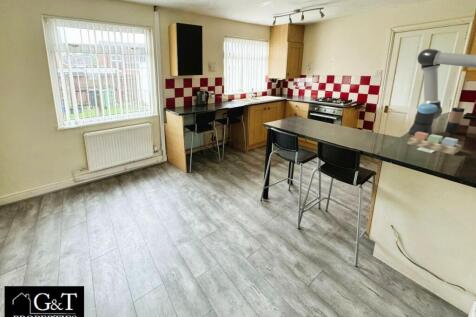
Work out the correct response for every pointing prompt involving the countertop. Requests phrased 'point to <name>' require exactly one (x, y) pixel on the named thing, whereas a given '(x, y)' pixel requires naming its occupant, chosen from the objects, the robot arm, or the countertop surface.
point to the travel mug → (454, 120)
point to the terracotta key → (421, 136)
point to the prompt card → (426, 150)
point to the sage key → (435, 138)
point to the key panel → (434, 146)
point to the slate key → (449, 142)
